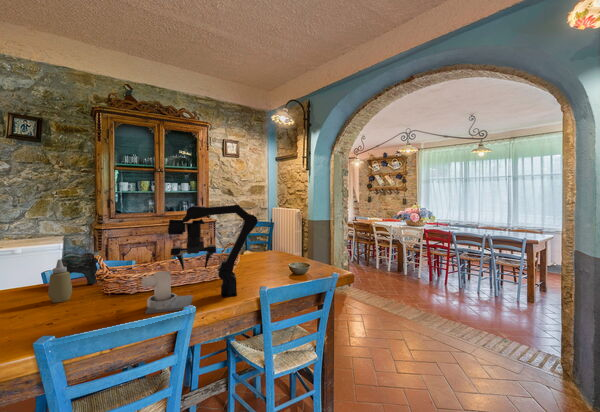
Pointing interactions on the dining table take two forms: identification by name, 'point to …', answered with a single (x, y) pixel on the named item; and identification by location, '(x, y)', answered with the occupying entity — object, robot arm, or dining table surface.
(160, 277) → the duct elbow
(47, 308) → the dining table surface
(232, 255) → the robot arm
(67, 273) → the squeeze bottle
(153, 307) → the duct board
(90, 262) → the spray gun
